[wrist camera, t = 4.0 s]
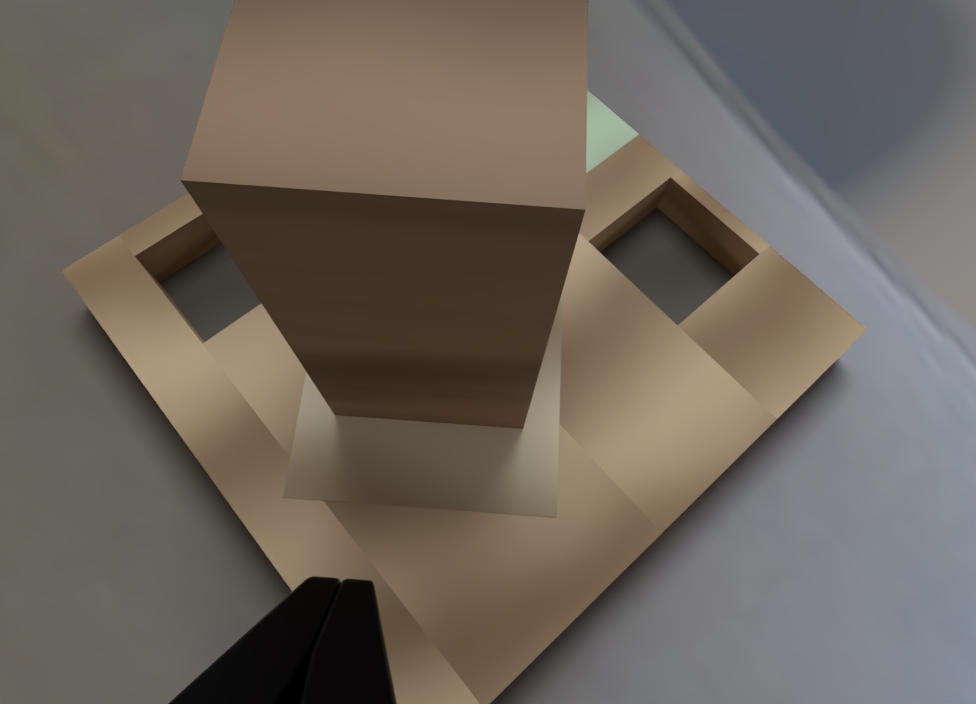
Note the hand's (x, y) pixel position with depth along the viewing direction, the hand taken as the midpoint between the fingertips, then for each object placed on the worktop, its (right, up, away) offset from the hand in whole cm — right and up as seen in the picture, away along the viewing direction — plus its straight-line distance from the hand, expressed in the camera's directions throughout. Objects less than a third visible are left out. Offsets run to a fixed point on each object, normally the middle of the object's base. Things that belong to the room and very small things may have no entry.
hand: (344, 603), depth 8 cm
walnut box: (0, +4, +12) cm, 12 cm away
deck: (+1, +4, +14) cm, 15 cm away
